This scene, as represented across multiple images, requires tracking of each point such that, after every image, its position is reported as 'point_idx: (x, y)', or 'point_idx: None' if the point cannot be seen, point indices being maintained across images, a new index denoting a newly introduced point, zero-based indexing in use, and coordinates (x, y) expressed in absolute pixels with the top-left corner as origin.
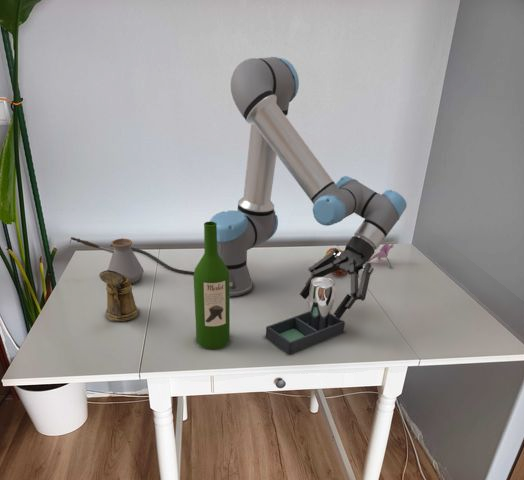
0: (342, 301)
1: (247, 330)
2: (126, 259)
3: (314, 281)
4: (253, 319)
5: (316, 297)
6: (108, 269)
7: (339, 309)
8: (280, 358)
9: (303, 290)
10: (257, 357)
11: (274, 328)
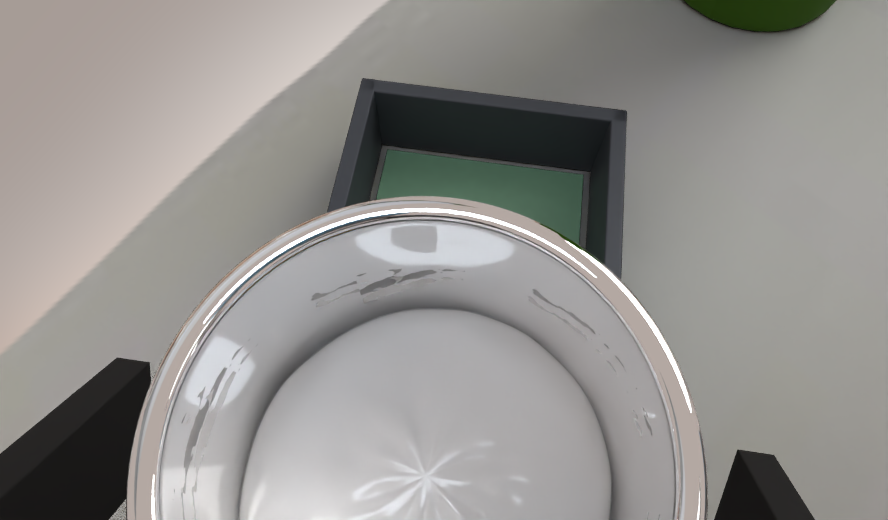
0: (5, 484)
1: (742, 142)
2: None
3: (662, 474)
4: (852, 259)
5: (384, 280)
6: None
7: (60, 406)
8: (384, 79)
9: (784, 503)
10: (477, 14)
11: (601, 177)
